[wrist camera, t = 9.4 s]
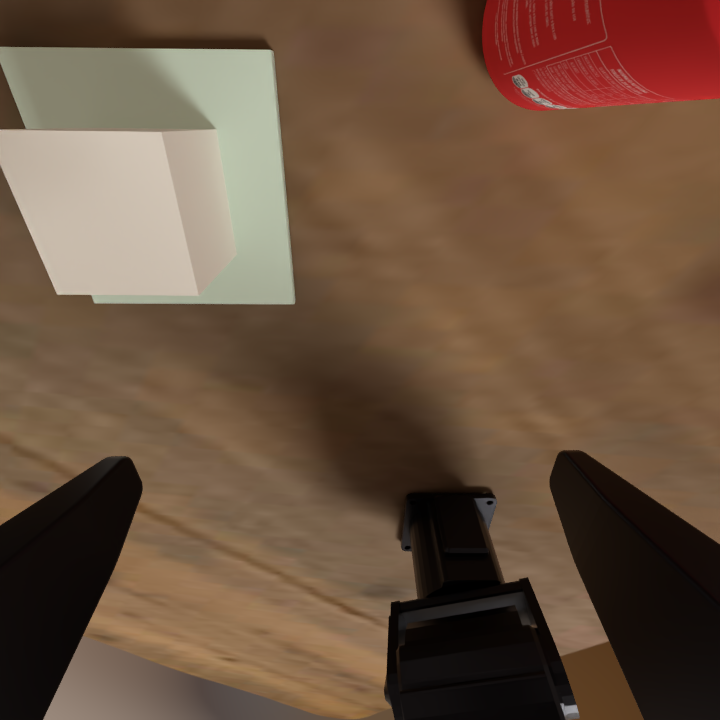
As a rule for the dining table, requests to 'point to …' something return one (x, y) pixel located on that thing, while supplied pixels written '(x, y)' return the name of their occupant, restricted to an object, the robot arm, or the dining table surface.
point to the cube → (122, 207)
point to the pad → (181, 111)
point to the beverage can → (602, 51)
